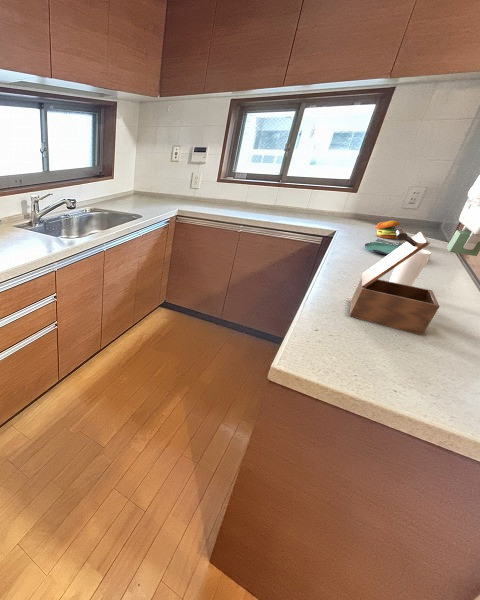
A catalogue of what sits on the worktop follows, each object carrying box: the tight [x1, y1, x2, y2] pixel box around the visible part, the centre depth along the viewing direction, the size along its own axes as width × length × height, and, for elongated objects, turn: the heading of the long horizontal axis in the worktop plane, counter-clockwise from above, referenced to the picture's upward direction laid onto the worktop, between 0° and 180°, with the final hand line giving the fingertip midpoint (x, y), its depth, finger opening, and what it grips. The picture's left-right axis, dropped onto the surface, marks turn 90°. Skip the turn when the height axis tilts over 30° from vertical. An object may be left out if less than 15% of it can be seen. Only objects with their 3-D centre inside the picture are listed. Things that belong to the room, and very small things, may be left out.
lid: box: [361, 228, 430, 288], centre depth 90 cm, size 16×13×5 cm
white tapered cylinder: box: [388, 248, 432, 286], centre depth 106 cm, size 7×7×15 cm
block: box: [446, 229, 480, 257], centre depth 86 cm, size 5×5×5 cm
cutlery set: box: [364, 238, 404, 256], centre depth 152 cm, size 20×30×2 cm, turn 132°
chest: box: [349, 277, 440, 336], centre depth 92 cm, size 16×13×9 cm
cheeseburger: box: [375, 219, 401, 241], centre depth 173 cm, size 10×11×10 cm
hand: (464, 246), depth 86 cm, fingers closed on block, 5 cm apart
